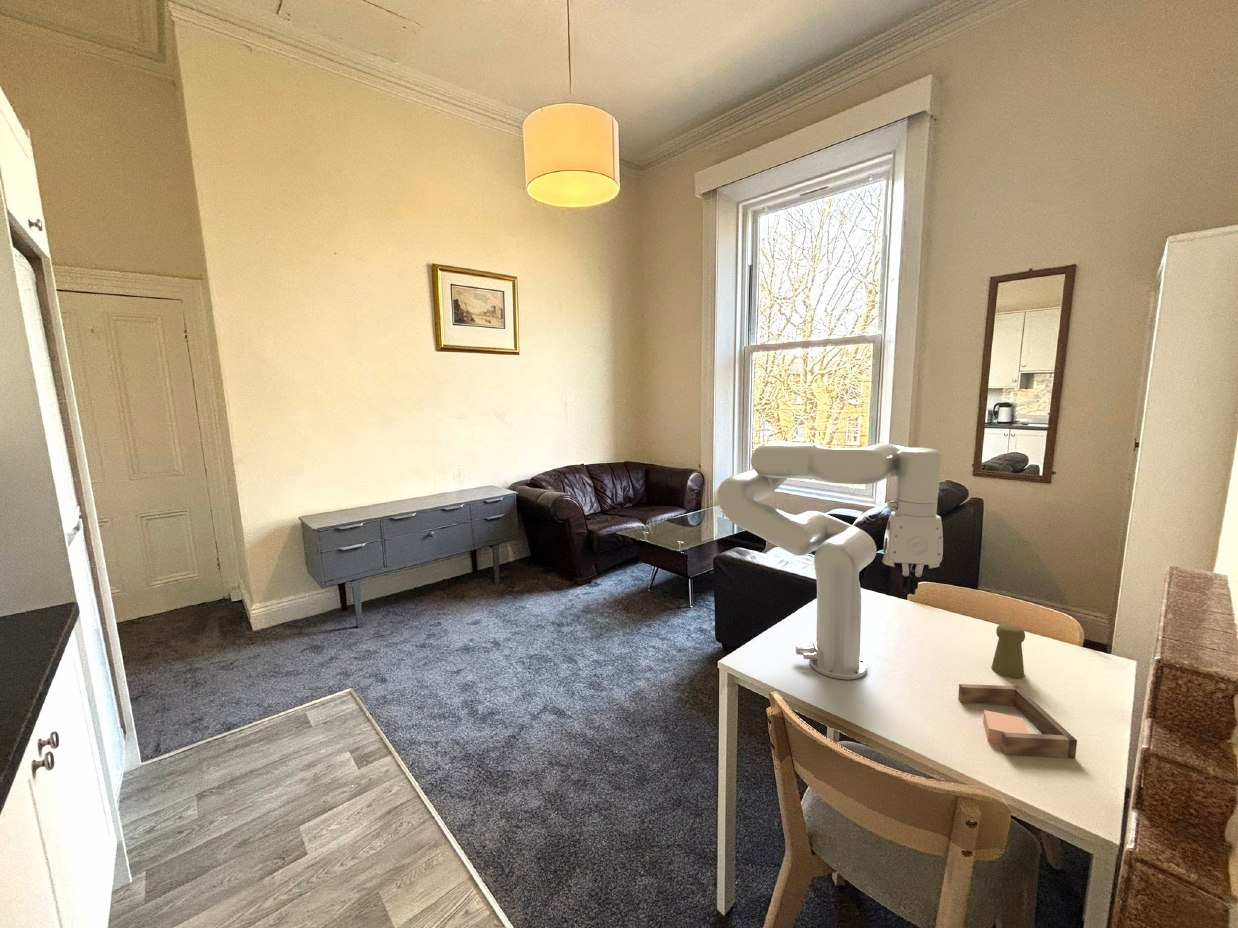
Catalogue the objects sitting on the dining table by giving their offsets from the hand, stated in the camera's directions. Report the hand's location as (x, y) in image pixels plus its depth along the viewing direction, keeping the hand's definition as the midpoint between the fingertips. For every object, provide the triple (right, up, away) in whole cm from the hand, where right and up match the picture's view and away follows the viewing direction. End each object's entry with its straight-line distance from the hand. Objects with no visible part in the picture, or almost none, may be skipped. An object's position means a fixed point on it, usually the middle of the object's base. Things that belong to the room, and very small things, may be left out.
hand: (908, 591), depth 108 cm
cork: (+27, -20, +8) cm, 35 cm away
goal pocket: (+14, -24, -10) cm, 29 cm away
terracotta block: (+11, -24, -12) cm, 30 cm away
